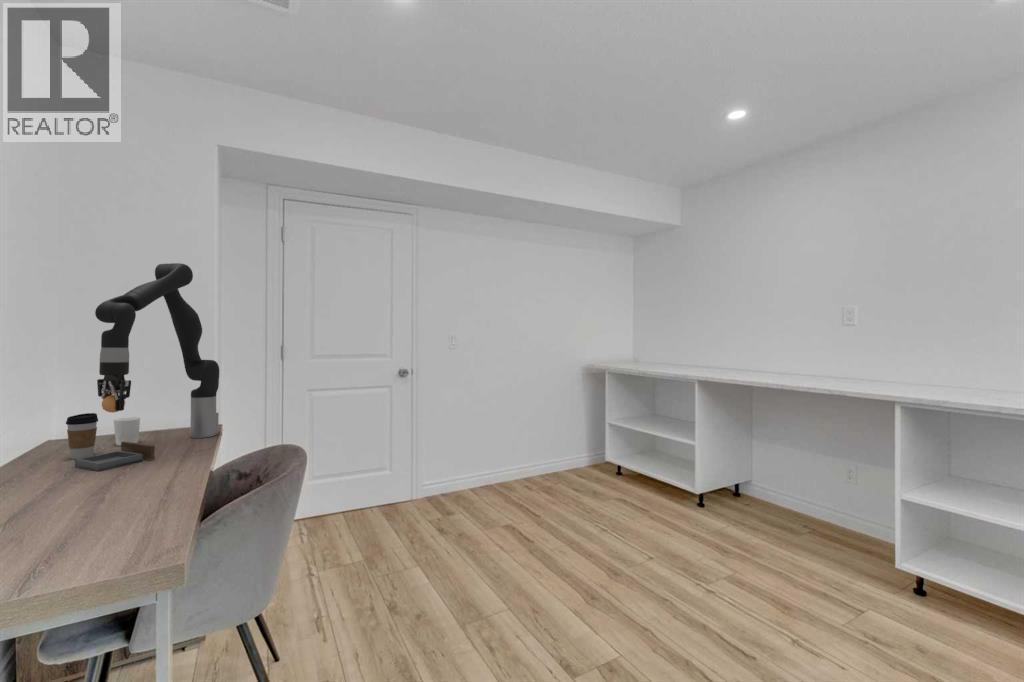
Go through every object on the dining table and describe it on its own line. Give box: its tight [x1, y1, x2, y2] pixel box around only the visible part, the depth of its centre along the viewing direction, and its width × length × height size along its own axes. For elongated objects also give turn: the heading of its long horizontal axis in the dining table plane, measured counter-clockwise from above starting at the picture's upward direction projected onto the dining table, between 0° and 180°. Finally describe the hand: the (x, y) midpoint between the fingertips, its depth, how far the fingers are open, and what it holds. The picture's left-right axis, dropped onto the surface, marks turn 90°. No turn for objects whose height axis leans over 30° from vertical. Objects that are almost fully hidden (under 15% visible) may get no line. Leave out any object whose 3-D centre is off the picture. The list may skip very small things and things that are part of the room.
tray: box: [74, 450, 143, 472], centre depth 151 cm, size 13×13×2 cm
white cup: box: [113, 416, 141, 447], centre depth 178 cm, size 8×8×10 cm
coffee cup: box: [65, 412, 99, 460], centre depth 159 cm, size 8×8×15 cm
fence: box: [120, 441, 156, 461], centre depth 159 cm, size 1×16×5 cm, turn 71°
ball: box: [101, 394, 126, 413], centre depth 152 cm, size 6×6×6 cm
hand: (113, 409), depth 152 cm, fingers closed on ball, 6 cm apart
